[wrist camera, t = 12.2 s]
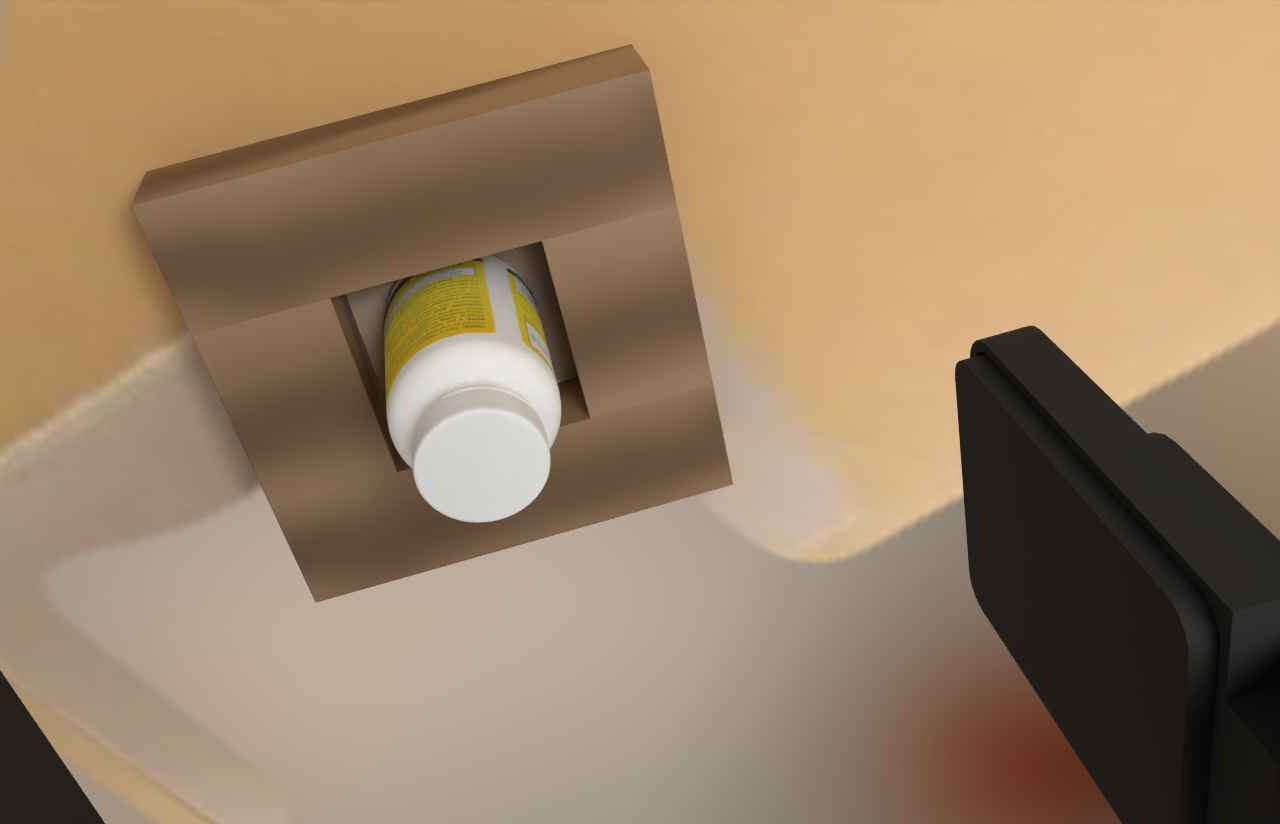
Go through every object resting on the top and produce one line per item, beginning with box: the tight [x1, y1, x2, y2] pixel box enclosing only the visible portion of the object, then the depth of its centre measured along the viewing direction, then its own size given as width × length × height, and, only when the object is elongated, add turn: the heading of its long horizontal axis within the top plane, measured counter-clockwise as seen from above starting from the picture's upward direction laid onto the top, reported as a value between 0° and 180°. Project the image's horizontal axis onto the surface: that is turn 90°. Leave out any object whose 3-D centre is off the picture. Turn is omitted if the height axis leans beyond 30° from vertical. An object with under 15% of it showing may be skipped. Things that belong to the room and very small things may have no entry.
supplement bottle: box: [384, 255, 561, 523], centre depth 39 cm, size 5×5×10 cm
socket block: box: [131, 44, 733, 602], centre depth 42 cm, size 16×16×3 cm
